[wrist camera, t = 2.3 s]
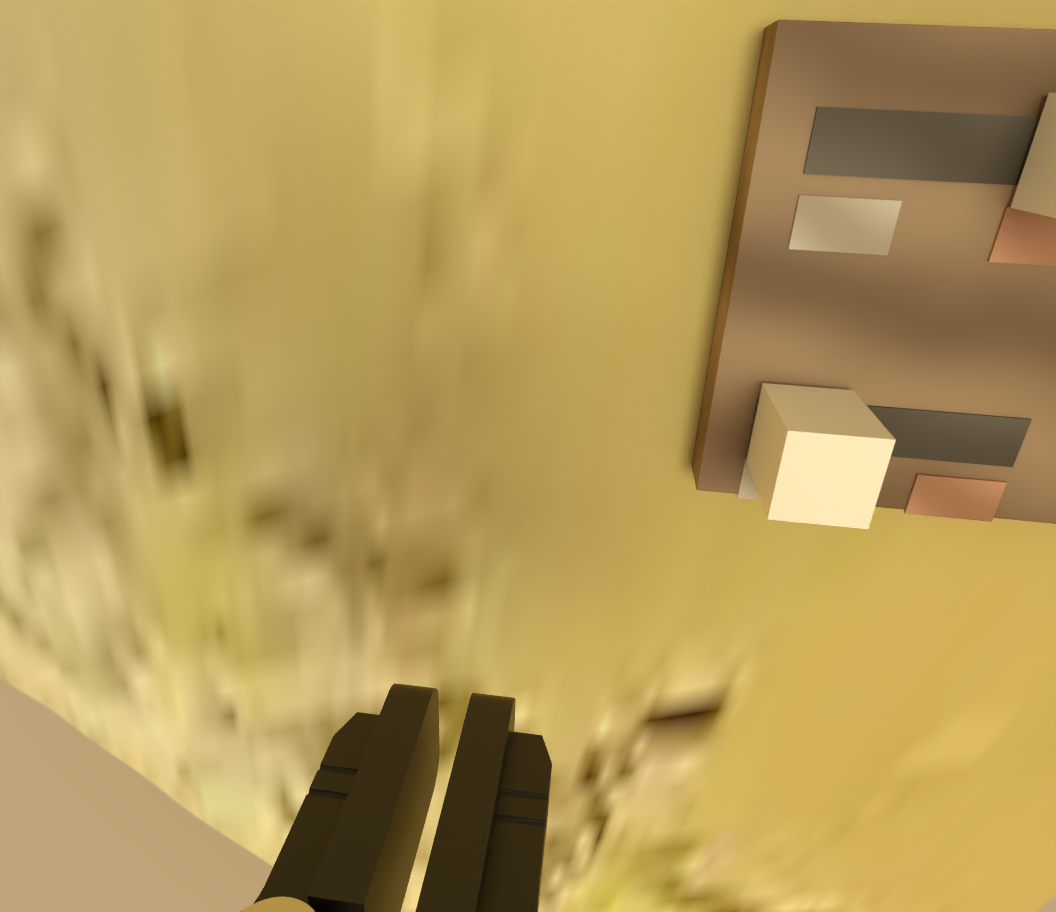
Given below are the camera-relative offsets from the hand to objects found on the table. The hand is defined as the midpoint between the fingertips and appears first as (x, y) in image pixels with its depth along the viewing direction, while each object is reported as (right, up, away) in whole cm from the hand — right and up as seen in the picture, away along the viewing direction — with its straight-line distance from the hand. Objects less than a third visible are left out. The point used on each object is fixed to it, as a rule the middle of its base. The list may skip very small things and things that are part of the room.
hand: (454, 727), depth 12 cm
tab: (+11, +6, +12) cm, 17 cm away
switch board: (+17, +10, +12) cm, 23 cm away
